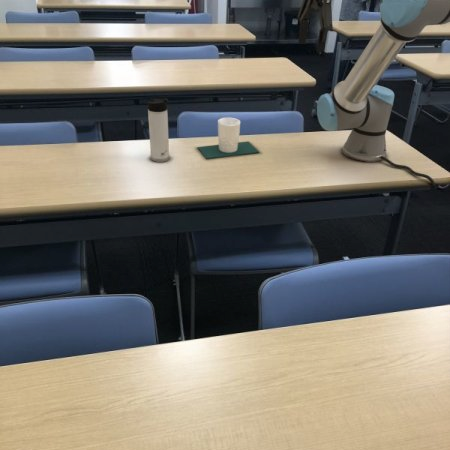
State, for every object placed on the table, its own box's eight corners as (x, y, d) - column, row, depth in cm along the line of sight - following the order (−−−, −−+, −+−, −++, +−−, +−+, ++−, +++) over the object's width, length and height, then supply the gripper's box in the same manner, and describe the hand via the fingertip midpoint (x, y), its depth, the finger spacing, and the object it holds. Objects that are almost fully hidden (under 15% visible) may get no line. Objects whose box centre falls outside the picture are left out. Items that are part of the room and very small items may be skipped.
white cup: (236, 154, 171) (238, 126, 164) (215, 152, 172) (215, 124, 165) (240, 146, 177) (242, 118, 170) (219, 143, 178) (220, 116, 171)
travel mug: (167, 163, 164) (165, 102, 152) (148, 161, 165) (144, 100, 152) (172, 155, 169) (170, 96, 157) (153, 154, 170) (150, 94, 157)
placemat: (259, 153, 174) (259, 151, 174) (206, 159, 168) (206, 158, 168) (248, 142, 181) (248, 141, 181) (197, 148, 175) (197, 147, 175)
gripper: (292, -30, 165) (285, 40, 178) (330, -20, 147) (318, 56, 160) (312, -30, 167) (303, 39, 180) (351, -20, 149) (338, 55, 163)
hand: (310, 47), depth 170 cm, fingers open, 13 cm apart
